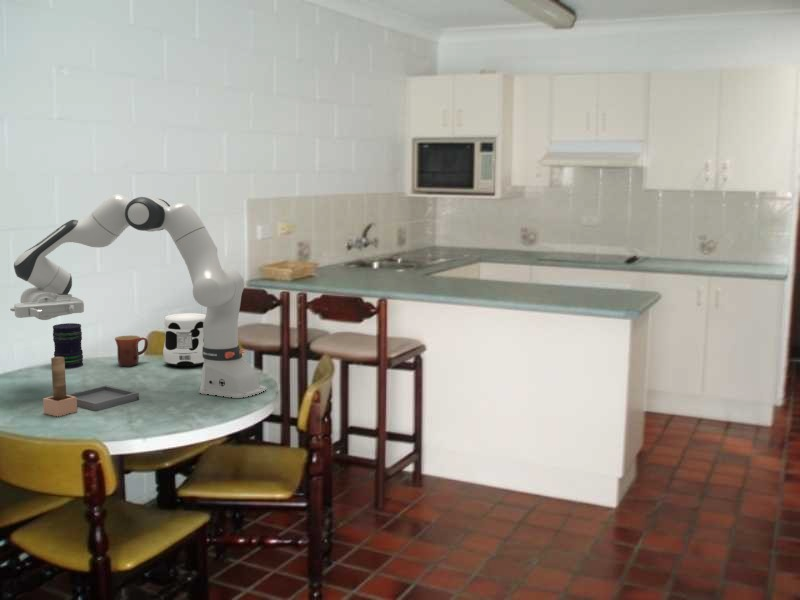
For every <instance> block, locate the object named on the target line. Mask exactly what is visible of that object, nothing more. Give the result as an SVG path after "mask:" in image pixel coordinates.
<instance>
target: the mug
mask: <svg viewBox="0 0 800 600" xmlns="http://www.w3.org/2000/svg"><path fill="white" fill-rule="evenodd" d="M142 340H144V347H143V348H142V350H140V351H139V343H140V342H141V341H142ZM114 341H115V343H116V346H117V356H116V357H117V364H118V365H119V366H120V367H123V366H129V367H135V366H137V365H138V364H139V358H140V356H141V355H142V354H144V353H146V351H147V349H148V346H149V341H148V339H147V338H146V337H140V336H139V335H120V336H119V335H118V336H116V337H114ZM134 365H135V366H134Z"/></svg>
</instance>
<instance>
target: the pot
mask: <svg viewBox="0 0 800 600" xmlns="http://www.w3.org/2000/svg"><path fill="white" fill-rule="evenodd" d="M42 401H43V402H42V403H43V414H45V415H48V416H49V415H50V416H52V415H53V417H56V416H57V418H58V416H59V417H62V415H63V416H66V414H67V415H70V414H69V413H71V414H74V412H75V413H78V406H77V397H74V396H70V395H67V394H66V399H63V400H59V401H56V400H53V395H52V396H48V397H45V398H44V397H43V398H42Z"/></svg>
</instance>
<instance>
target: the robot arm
mask: <svg viewBox="0 0 800 600" xmlns="http://www.w3.org/2000/svg"><path fill="white" fill-rule="evenodd" d="M129 227H132V228H133V229H135V230H137V231H144V232H150V233H151V232H157V231H158V232H159V231H163V230H165V231H167V233H168V234H169V236H170V237H171V239H172V241H173V243H174V245H175V246H176V248H177V250H178V252H179V253H180V255H181V257H182V259H183V261H184V263H185V265H186V267H187V270H188V274H189V277H190V280H191V283H192V297H193V298H194V300H195V301H196V303H198V304H199V305H201V306H202V307H205V308H207V309H206V314H205V315H206V317H205V320H204V323H203V335H204V346H203V351H202V353H203V358H204V363H203V364H202V369H201V370H202V371H201V382H200V386H199V394H200V393H201V395H207V394H209V396H215V395H217V397H223V396H224V397H225V398H231V397H232V399H242V398H243V397H244V398H248V396H249V397H253V396H256V395H255V394H257V395H259V393H260V394H262V393H264V392H266V391H265V390H267V386H264V385H261V384H260V382H259V375H258V372H257V371H256V370H255V369H254V368H253V367H252V366H251V365H250V364H249V363H248V362H247V361H246V360H245V359H244V358H243V354H244V353H245V352H244V351H245V349H241V347H240V345H239V333H238V332H239V331H238V330H239V328H238V327H239V314H240V308H241V303H242V294H243V292H244V289H245V280H244V277H243V275H242V274H241V273H240V272H238V271H237V270H234V269H229V268H222V266H221V262H220V260H219V257H218V247H217V246H216V244H215V242H214V240H213V238H212V236H211V234H210V233H209V231H208V230H207V228H206V225H205V224H204V222H203V221H202V218H200V217H199V215H198V214H197V212H196V211H195V210H194V209H193V208H192V207H191V205H189V204H188V203H186V202H178V203H174V204H172V205H170V204H169V203H168V202H167V201H165V200H163V199H162V198H156V197H153V196H139V197H136V198H133V199H130V198H129V197H128V196H125V194H120V193H115V194H113V195H111V196H109V197H108V198H107V199H105V200H104V201H103V202H101V204H99V206H97V207H96V208H95V209H94V210H93V211H92V212H91V214H89V215H88V216H86V217H83V218H81V219H78V220H77V219H71V220H69V221H66V222H65V223H63V224H62V225H61V226H59V227H58V228H57V229H55V230H54V231H53V232H51V233H50V234H48V235H47V236H46V237H44V238H43V239H42V240H40V241H39V242H38V243H36V244H35V245H33V246H32V247H30V248H28V249H27V250H25V251H24V252H22V253H21V254H20V255H19V256H18V257H17V258H16V259H15V261H14V264H13V268H14V272H15V275H16V277H17V278H19V279H22V280H23V281H25V282H28V283H29V284H31V285H32V286H34V287H30V288H27V289H25V290H24V291H23V292H22V293H21V296H20V300H19V301H20V302H19V303H14V306H13V307H10V311H11V312H14V316H15V317H16V318H19V319H21V318H22V319H23V318H33V317H34V318H36V319H38V320H42V321H48V320H51V319H55V318H57V317H62V316H67V315H72V314H82V313H84V312H85V311H84V310H85V303H84V301H83V299H80V298H78V297H75V296H73V295H72V294H71V293H70V292H71V289H72V286H73V277H72V274H71V273H70V272H69V271H68V270H66V269H64V268H63V267H61V266H60V265H58V264H57V263H55V262H54V261H52V260H50V259H49V258H47V256H48V255H49V254H51V253H53V252H54V251H55V250H56V249H57V248H59V247H60V246H61V245H63V244H65V243H73V244H74V243H76V244H79V245H80V244H81V245H84V246H87V247H91V248H104V247H108V246H109V245H111V244H112V243H113V242H115V240H117V238H119V237H120V236H121V234H122V233H123V232H125V230H127V228H129ZM263 391H264V392H263ZM261 392H262V393H261ZM252 395H253V396H252Z"/></svg>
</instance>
